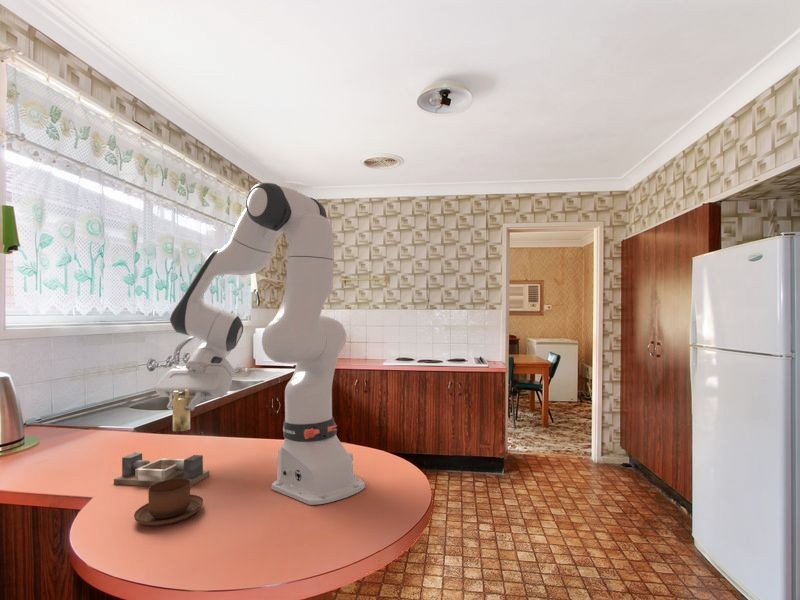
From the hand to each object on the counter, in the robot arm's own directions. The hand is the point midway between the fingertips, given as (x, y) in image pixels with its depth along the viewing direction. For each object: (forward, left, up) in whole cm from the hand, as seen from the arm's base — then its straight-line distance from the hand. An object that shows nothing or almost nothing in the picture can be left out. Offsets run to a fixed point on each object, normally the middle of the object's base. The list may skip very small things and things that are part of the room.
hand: (179, 409), depth 108 cm
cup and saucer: (-26, +7, -16) cm, 31 cm away
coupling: (0, -1, -5) cm, 5 cm away
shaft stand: (-2, +4, -16) cm, 17 cm away
